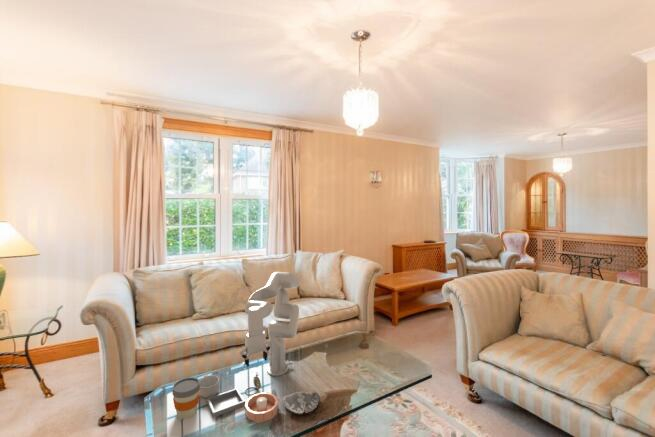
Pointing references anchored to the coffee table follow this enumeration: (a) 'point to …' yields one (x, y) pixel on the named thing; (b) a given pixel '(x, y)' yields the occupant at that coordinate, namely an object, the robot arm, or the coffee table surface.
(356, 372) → the coffee table surface
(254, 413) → the bowl
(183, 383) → the reusable coffee cup
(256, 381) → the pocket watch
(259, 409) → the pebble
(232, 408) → the tray
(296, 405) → the brain slice
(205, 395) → the teacup
